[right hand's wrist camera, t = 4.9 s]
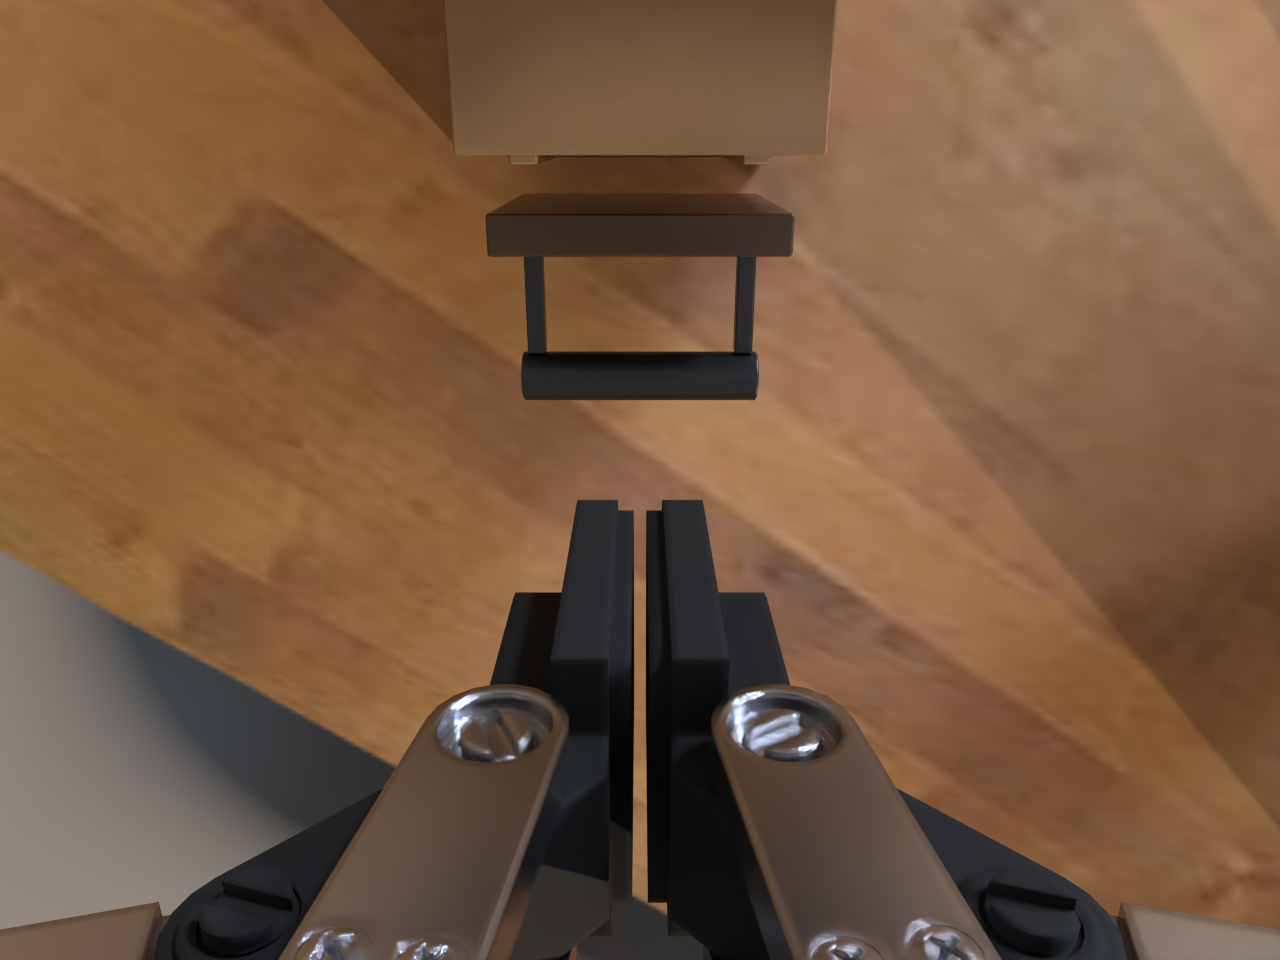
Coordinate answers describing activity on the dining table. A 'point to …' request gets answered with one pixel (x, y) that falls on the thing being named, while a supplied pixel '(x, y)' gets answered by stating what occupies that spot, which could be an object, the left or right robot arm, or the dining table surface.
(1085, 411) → the dining table surface
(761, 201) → the drawer
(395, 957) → the right robot arm
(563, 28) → the cabinet
